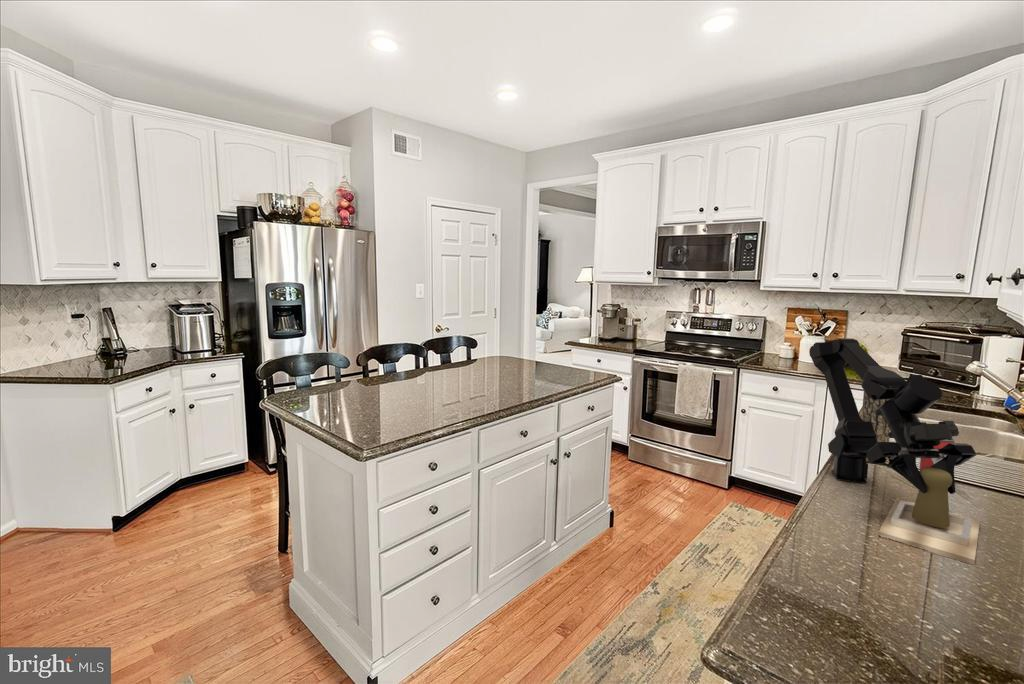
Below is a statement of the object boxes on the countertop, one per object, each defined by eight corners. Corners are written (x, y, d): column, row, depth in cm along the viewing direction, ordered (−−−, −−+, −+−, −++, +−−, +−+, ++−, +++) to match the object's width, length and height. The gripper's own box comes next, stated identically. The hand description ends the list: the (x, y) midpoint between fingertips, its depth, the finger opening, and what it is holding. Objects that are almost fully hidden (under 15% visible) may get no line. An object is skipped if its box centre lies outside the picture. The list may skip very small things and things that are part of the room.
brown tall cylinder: (892, 465, 135) (900, 378, 132) (865, 463, 136) (872, 377, 134) (879, 457, 141) (887, 374, 139) (853, 455, 143) (860, 373, 140)
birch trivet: (878, 536, 96) (878, 531, 96) (896, 502, 111) (896, 498, 111) (974, 565, 86) (974, 559, 86) (979, 523, 101) (980, 519, 101)
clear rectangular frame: (890, 524, 99) (891, 518, 99) (899, 507, 107) (900, 500, 107) (967, 546, 91) (968, 539, 90) (971, 525, 99) (971, 518, 98)
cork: (921, 511, 103) (926, 462, 101) (956, 523, 97) (962, 472, 96) (905, 516, 100) (910, 466, 99) (940, 530, 95) (946, 477, 94)
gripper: (880, 405, 101) (914, 476, 91) (974, 406, 99) (1019, 478, 90) (853, 429, 109) (882, 496, 100) (939, 431, 108) (977, 499, 98)
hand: (939, 492), depth 97 cm, fingers closed on cork, 5 cm apart
